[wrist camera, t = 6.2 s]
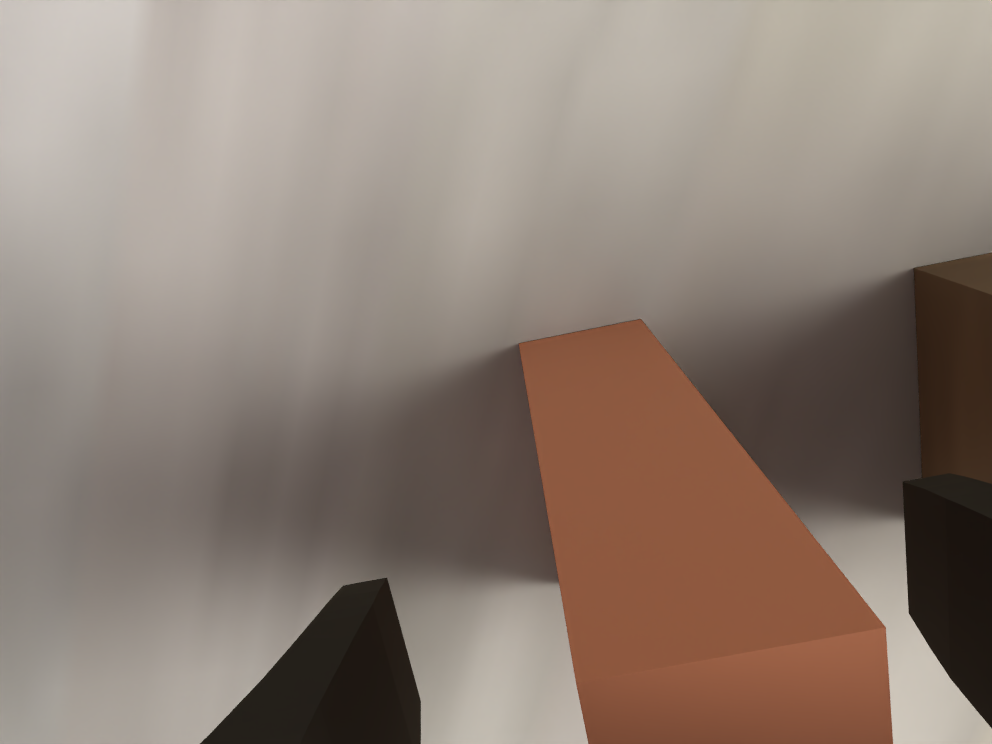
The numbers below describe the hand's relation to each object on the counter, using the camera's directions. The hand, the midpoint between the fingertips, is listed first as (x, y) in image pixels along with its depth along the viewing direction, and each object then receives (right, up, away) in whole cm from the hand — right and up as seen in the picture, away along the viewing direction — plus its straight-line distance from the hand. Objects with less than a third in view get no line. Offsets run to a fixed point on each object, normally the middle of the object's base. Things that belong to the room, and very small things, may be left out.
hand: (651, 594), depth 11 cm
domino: (0, +1, +4) cm, 4 cm away
